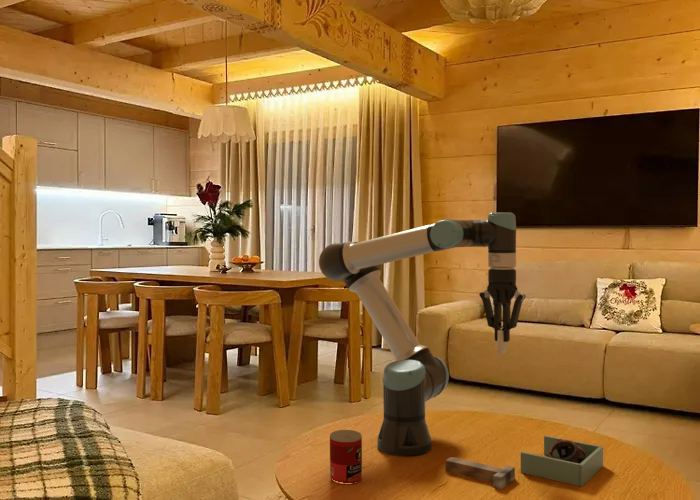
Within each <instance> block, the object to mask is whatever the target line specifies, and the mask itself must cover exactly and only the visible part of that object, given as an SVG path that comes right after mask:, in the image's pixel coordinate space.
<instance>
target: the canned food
mask: <svg viewBox="0 0 700 500" xmlns="http://www.w3.org/2000/svg"><path fill="white" fill-rule="evenodd" d="M362 438H363V435H362V433H361V432H359V431H358V430H357V431H356V430H353V429H340V430H334V431H332V432H330V434H329V476H330V478H332V479H333V480H335V481H338V482H343V483H355V482H357V483H359V482H360V481H361V480H362V476H363V440H362ZM332 479H331V480H332ZM358 481H359V482H358ZM355 484H356V483H355Z"/></svg>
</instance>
